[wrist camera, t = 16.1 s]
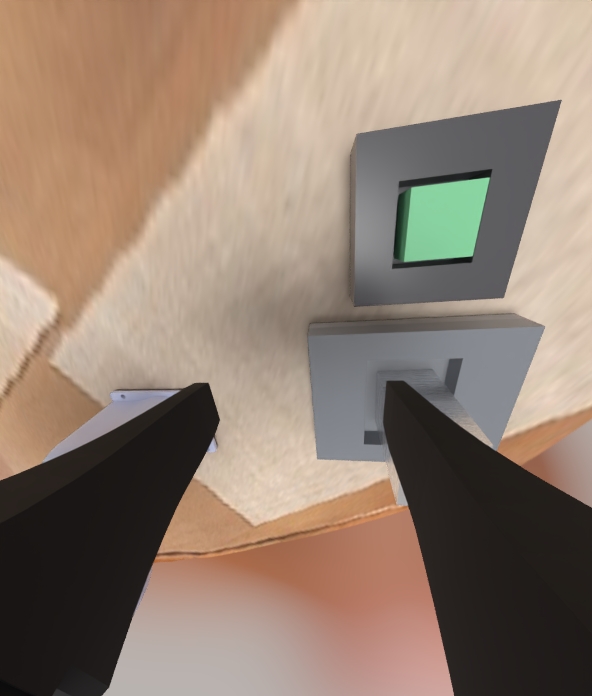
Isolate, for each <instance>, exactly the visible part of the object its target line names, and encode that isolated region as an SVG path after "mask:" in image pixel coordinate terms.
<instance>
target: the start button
mask: <svg viewBox="0 0 592 696" xmlns="http://www.w3.org/2000/svg"><path fill="white" fill-rule="evenodd" d="M489 179H490V177H489V178H481V179H474V180H466V181H458V182H450V183H442V184H435V185H427V186H419V187H412V188H410V189H408V190H406V191H405V192H403V193H401V194H399V203H398V215H397V228H396V240H395V252H394V259H397V260H400V261H403V262H410V261H422V260H434V259H446V258H458V257H470V256H473V253H474V248H475V243H476V239H477V234H478V230H479V225H480V221H481V216H482V211H483V207H484V202H485V198H486V193H487V189H488V184H489Z"/></svg>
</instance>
